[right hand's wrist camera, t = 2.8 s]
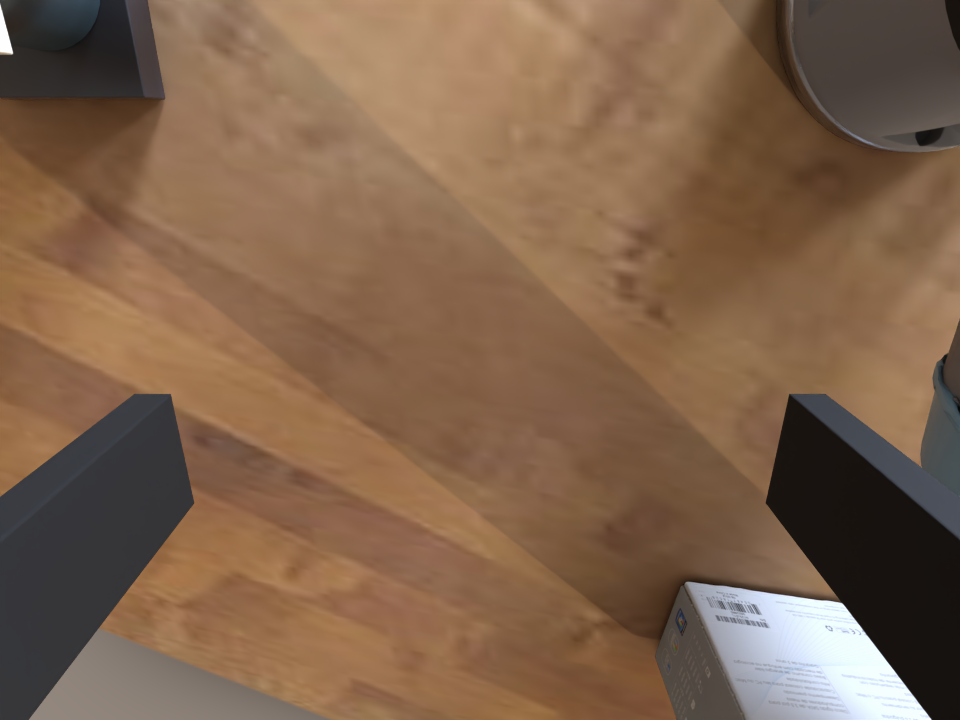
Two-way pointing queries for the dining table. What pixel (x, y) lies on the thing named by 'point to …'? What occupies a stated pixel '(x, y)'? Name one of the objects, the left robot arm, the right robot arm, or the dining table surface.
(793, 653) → the hard drive box
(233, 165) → the dining table surface
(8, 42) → the white square block
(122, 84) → the stand
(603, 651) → the dining table surface
